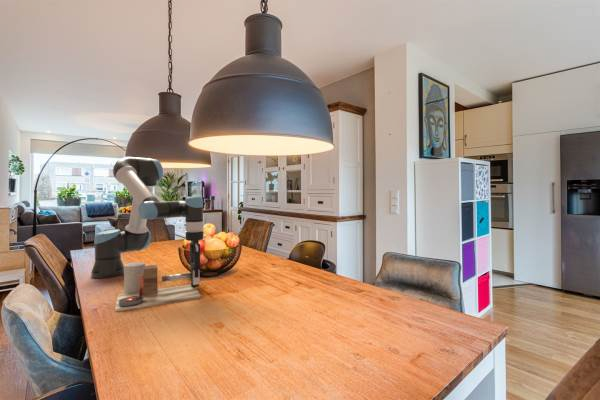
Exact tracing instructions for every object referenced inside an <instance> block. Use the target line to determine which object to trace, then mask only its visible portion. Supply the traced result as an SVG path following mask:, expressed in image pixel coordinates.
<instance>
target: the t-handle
mask: <svg viewBox="0 0 600 400" xmlns="http://www.w3.org/2000/svg"><path fill="white" fill-rule="evenodd" d="M197 267H198V266H197ZM192 269H193V263H191V264H190V272H188V273H187V272H185V273H177V274H169V275H162V276H161V282H162V283H164V282H172V281H180V280H187V279H188V280H189V279H190V285H191V287H196V288H198V287H200V284H197V285H193V270H192Z"/></svg>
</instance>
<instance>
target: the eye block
mask: <svg viewBox="0 0 600 400" xmlns="http://www.w3.org/2000/svg"><path fill="white" fill-rule="evenodd" d="M158 284H159V283H158V264H152V265H150V264H149V265H145V266H144V296H141V297H143V302H142V303H140V304H138V305H134V306H128V307H122V306H119V301H120V300H121V299H123V298H126V297H132V296H139V292H133V293H126V294H125V293H121V294H118V295H117V299H116V303H115V309H114V310H115V311H114V312H123V311H128V310H134V309H141V308H146V307H152V306H160V305H166V304H171V303H178V302H184V301H191V300H197V299H201V298H202V295H201V293H200V291H199V290H198V287H191V284H185V285H179V286H178V285H177V286H171V287H164V288H158V287H159V285H158Z"/></svg>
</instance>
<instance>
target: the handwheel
mask: <svg viewBox="0 0 600 400" xmlns="http://www.w3.org/2000/svg"><path fill="white" fill-rule="evenodd" d="M141 296H144V275H139V296H132V297H126V298H123V299H121V300H120V301H119V306H122V307H128V306H134V305H138V304H140V303H142V302H143V297H141Z"/></svg>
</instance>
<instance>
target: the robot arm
mask: <svg viewBox="0 0 600 400" xmlns="http://www.w3.org/2000/svg"><path fill="white" fill-rule="evenodd" d="M112 173H113V174H112V175H113V177H114V179H115V180H116V181H117V182H118V183H120V184H122V185H123V186H124V187H125V188H126V189H125V190H127V191H128V193H129V194H130V195H131V197H132V201H131V208H130V214H129V220H128V224H126V226H125V227H124V231H121V230H120V229H115V228H114V229H108V230H107V229H106V230H103V231H99V232H97V233H96V234H95V235H94V240H93V244H94V264H93V266H92V269H91V272H90V274H91V275H90V276H91V278H93V279H107V278H108V279H109V278H114V277H118V276H122V275H124V265H125V264H124V263H123V261H122V257H121V255H122V253H130V252H136V251H137V252H139V251H143V250H145V249H147V248H148V247H150V245H151V241H152V233H151V232H150V230H149V228H148V227H147V222H148V220H156V219H157V220H158V219H171V218H172V219H173V218H185V220H184V221H185V223H184V224H183V226H184V227H185V231H186V232H185V240H186V241H187V242H189V241H190V243H189V264H190V265H191V263H193V269H192V270H193V285H197V284H199V285H200V284H201V283H200V282H201V281H200V277H201V276H200V270H201V244H200V243H199V241H203V240H204V203H203V202H204V201H203V197H201V196H186V197H184V198H185V199H184V200H170V201H169V200H167V201H166V200H164V201H163V200H162V201H160V200H159V199H158V197H156V196H155V194H154V193H153V188H154V187H156V186H157V183H158V182H159V181H162V179H163V176H164V168H163V165H162V163H161V162H160V161H159V160H158V159H154V158H151V157H150V158H149V157H147V158H146V157H134V156H125V157H121V158H120V159H119V160H117V161H116V162H115V164H114V165H113V168H112ZM197 266H198V267H197Z"/></svg>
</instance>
